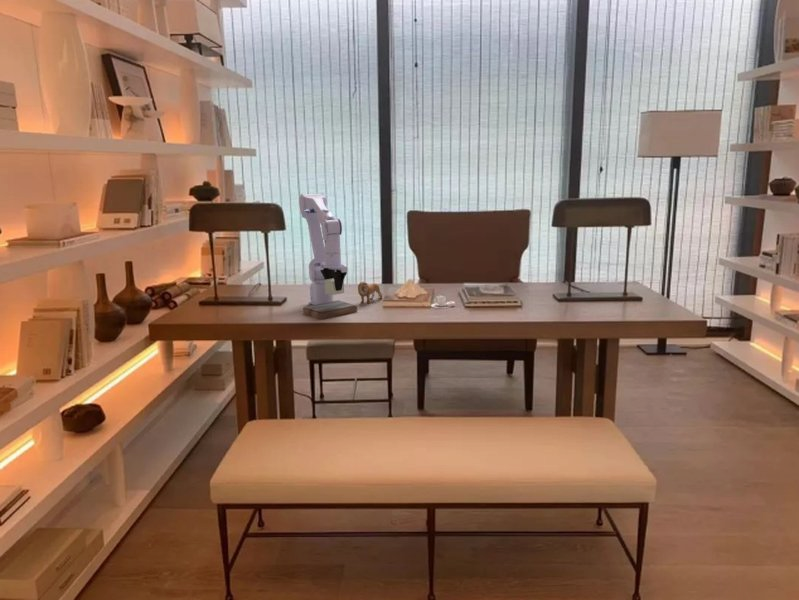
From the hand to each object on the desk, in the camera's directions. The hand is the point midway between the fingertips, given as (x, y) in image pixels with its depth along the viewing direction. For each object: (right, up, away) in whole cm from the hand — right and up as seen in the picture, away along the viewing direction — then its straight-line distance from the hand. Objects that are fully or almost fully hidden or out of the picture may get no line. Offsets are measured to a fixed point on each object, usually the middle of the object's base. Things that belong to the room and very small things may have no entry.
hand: (334, 289), depth 233 cm
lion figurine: (+13, -5, +18) cm, 22 cm away
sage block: (0, -1, 0) cm, 1 cm away
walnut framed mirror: (-2, -9, +2) cm, 9 cm away
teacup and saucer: (+41, -8, +6) cm, 42 cm away
